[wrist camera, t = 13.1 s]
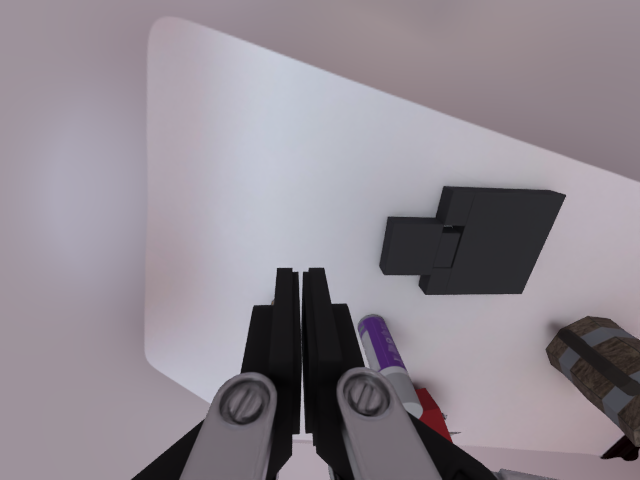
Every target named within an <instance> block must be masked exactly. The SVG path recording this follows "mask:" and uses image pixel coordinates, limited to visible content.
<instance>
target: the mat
mask: <svg viewBox="0 0 640 480" xmlns="http://www.w3.org/2000/svg"><path fill="white" fill-rule="evenodd" d="M565 197H566V195H565V194H561V193H558V192H554V191H551V190H529V189H502V188H475V187H448V186H444V187H443V191H442V195H441V199H440V203H439V207H438V211H437V215H436V219H438V220H439V221H440V222H442V223H443V224H444V225H448V226H453V228H454V229H455V230H456V231H458V232H459V233H460V237H459V241H458V244H457V247H456V250H455V254H454V257H453V260H452V264H451V267H450V268H434V267H433V268H432V271H431V275H421V278H420V282H419V287H420V288H421V290H422V291H423V292H424V294H425V295H462V294H522V292H523V290H524V288H525V285H526V283H527V281H528V279H529V276H530V274H531V272H532V270H533V268H534V265H535V263H536V261H537V259H538V257H539V254H540V252H541V250H542V248H543V246H544V243H545V241H546V239H547V237H548V235H549V232H550V230H551V228H552V226H553V224H554V221H555V219H556V217H557V215H558V212H559V210H560V208H561V206H562V204H563V201H564V199H565Z"/></svg>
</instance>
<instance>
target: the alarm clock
mask: <svg viewBox="0 0 640 480" xmlns="http://www.w3.org/2000/svg"><path fill="white" fill-rule="evenodd" d="M415 392H416V394H417V396H418V399H419V401H420V404H421V406H422V408H423V413H422V415H421V417H420V418H419V420H421V421H422V422H423V423H425V424H426V425H428V426H429V427H431V428H432V429H433V430H435V431H436V432H438V433H439V434H441V435H442V436H443V437H445V438H446V439H448V440H449V441H451V442H452V439H451V437H450V436H451V435H454V434H457V432H448V429H447V426H446V424H445V421H444V419H445V420H446V418H447V415H445V414H443V413H441V411H440V408H439V407H438V405H437V404H436V402H435V401H434V400H433V398H432V397H431V395H430V394H429V393H428V391H427V390H426V388H421V389H416V390H415ZM458 433H461V432H458ZM452 443H453V442H452Z"/></svg>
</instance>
